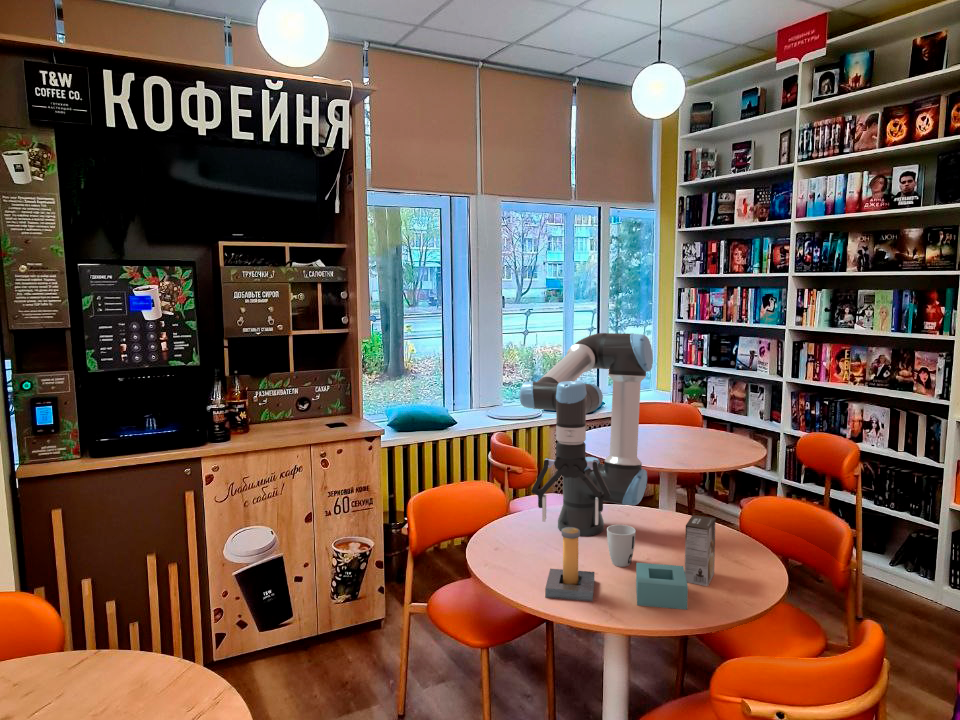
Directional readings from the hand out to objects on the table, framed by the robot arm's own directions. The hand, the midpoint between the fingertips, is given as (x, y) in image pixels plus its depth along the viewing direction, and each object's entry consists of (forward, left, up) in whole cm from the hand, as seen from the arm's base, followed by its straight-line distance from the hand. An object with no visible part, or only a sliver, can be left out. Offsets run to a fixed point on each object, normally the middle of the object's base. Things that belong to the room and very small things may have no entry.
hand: (570, 521), depth 171 cm
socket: (0, +23, -19) cm, 30 cm away
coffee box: (-13, +34, -19) cm, 41 cm away
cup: (-19, +13, -19) cm, 30 cm away
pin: (0, 0, -19) cm, 19 cm away
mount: (0, 0, -19) cm, 19 cm away
